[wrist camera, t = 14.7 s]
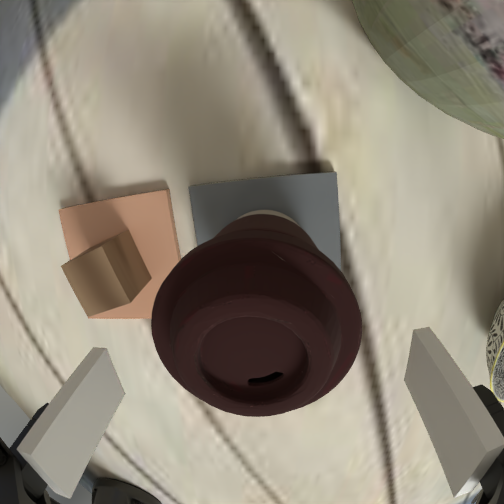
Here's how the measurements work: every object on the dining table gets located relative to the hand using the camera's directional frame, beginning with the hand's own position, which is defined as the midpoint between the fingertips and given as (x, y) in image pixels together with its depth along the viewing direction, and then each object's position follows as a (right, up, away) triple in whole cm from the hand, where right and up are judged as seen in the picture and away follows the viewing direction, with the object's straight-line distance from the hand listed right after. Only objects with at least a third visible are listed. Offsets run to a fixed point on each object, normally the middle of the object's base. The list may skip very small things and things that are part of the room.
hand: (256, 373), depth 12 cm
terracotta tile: (-13, +4, +17) cm, 21 cm away
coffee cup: (+1, +5, +15) cm, 16 cm away
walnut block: (-13, +4, +16) cm, 21 cm away
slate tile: (+1, +5, +15) cm, 16 cm away
